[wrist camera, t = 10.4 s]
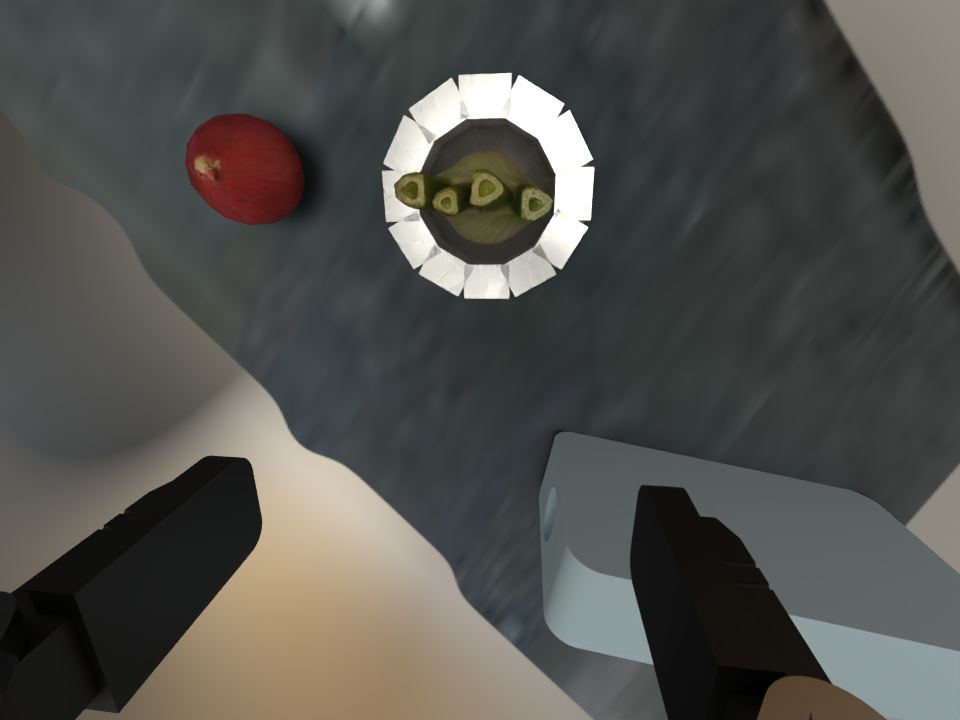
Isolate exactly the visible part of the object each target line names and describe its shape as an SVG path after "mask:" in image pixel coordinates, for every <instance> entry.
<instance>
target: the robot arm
mask: <svg viewBox="0 0 960 720" xmlns="http://www.w3.org/2000/svg"><path fill="white" fill-rule="evenodd" d="M261 529H262V517H261V511H260V506H259V501H258V495H257V490H256V485H255V479H254V474H253V469H252V466H251V463H250V462H249V461H248V460H247V459H245V458H239V457H223V456H207V457H204V458H202V459H201V460H200V461H198V462H197V463H196V464H194V465H193V466H192V467H190V468H189V469H188V470H186V471H185V472H184V473H182V474H181V475H180V476H178V477H177V478H176V479H174V480H173V481H171V482H169V483H167V484H165V485H163V486H161V487H159V488H157V489H155V490H152V491H151V492H149V493H147V494H146V495H144V496H143V497H142V498H140V499H139V500H138V501H137V502H135V503H134V504H132V505H131V506H130V507H128V508H127V509H125V512H124V514H119V515H117V516H116V517H114V518H113V519H112V520H110V521H109V522H108V523H106V524H105V525H104V528H103V529H102V530H100V529H98V530H97V531H96V532H94V533H93V534H91V535H90V536H89V537H87V538H86V539H84V540H83V541H82V542H80V543H79V544H78V545H76V546H75V547H73V548H72V549H71V550H69V551H68V552H67V553H66V554H64V555H63V556H61V557H60V558H59V559H57V560H56V561H54V562H53V563H52V564H50V565H49V566H48V567H46V568H45V569H44V570H42V571H41V572H40V573H38V574H37V575H35V576H34V577H33V578H32V579H30V580H29V581H27V582H26V583H25V584H23V585H22V586H20V587H19V588H18V589H16V590H15V591H13V592H12V593H8V592H3V591H0V720H75V719H76V718H77V717H78V716H79V715H80V714H81V712H82V711H83V710H84V709H91V710H98V711H105V712H113V713H119V712H120V711H121V710H122V709H123V707H124V706H125V705H126V704H127V703H128V701H129V700H130V699H131V698H132V697H133V695H134V694H135V693H136V692H137V690H138V689H139V688H140V687H141V686H142V684H143V683H144V682H145V681H146V679H147V678H148V677H149V676H150V675H151V673H152V672H153V671H154V669H156V667H157V666H158V665H159V664H160V663H161V661H162V660H163V659H164V658H165V656H166V655H167V654H168V653H169V652H170V650H171V649H172V648H173V647H174V646H175V644H176V643H177V642H178V641H179V640H180V638H181V637H182V636H183V635H184V633H185V632H186V631H187V630H188V629H189V627H190V626H191V625H192V624H193V623H194V621H195V620H196V619H197V618H198V616H199V615H200V614H201V613H202V611H203V610H204V609H205V608H206V607H207V606H208V604H209V603H210V602H211V601H212V599H213V598H214V597H215V596H216V595H217V593H218V592H219V591H220V590H221V589H222V587H223V586H224V585H225V584H226V582H227V581H228V580H229V579H230V578H231V576H232V575H233V574H234V573H235V572H236V570H237V569H238V568H239V567H240V566H241V564H242V563H243V562H244V561H245V559H246V558H247V557H248V556H249V555H250V553H251V552H252V551H253V550H254V548H255V546H256V544H257V542H258V540H259V537H260V534H261ZM630 571H631V579H632V585H633V589H634V593H635V596H636V600H637V604H638V608H639V611H640V615H641V619H642V623H643V626H644V630H645V634H646V638H647V642H648V645H649V649H650V653H651V657H652V660H653V664H654V668H655V672H656V676H657V679H658V683H659V687H660V691H661V694H662V698H663V702H664V706H665V709H666V713H667V717H668V720H886V719H885V718H884V717H883V716H882V715H880V714H879V713H878V712H877V711H876V710H875V709H873V708H872V707H870V706H869V705H868V704H866V703H865V702H864V701H862V700H861V699H859V698H857V697H856V696H854V695H853V694H851V693H849V692H847V691H846V690H844V689H842V688H840V687H838V686H836V685H833V684H832V682H831V681H830V680H829V678H828V676H827V675H826V673H825V672H824V670H823V668H822V667H821V665H820V664H819V662H818V661H817V659H816V657H815V656H814V654H813V653H812V651H811V649H810V648H809V646H808V645H807V643H806V642H805V640H804V638H803V637H802V635H801V634H800V632H799V630H798V629H797V627H796V626H795V624H794V623H793V621H792V619H791V618H790V616H789V615H788V613H787V611H786V610H785V608H784V607H783V605H782V604H781V602H780V600H779V599H778V597H777V596H776V594H775V592H774V591H773V590H771V589H770V588H769V583H768V581H767V580H766V578H765V577H764V575H763V573H762V572H761V570H760V569H759V568H756V562H755V561H754V559H753V558H752V556H751V554H750V553H749V551H748V550H747V548H746V547H745V545H744V543H743V542H742V540H741V539H740V538H739V537H738V536H737V535H736V534H735V533H733V532H732V531H731V530H730V529H729V528H727V527H726V526H725V525H724V524H723V523H722V522H720V521H719V520H718V519H717V518H716V517H702V516H700V515H699V513H698V511H697V509H696V508H695V506H694V504H693V502H692V500H691V498H690V497H689V495H688V493H687V491H686V490H685V489H684V488H682V487H669V486H654V485H641V486H640V488H639V491H638V497H637V504H636V511H635V519H634V526H633V534H632V541H631V549H630Z"/></svg>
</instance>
